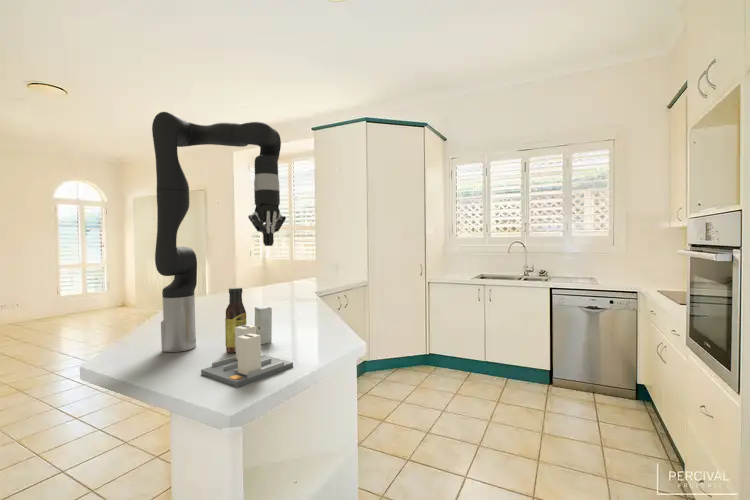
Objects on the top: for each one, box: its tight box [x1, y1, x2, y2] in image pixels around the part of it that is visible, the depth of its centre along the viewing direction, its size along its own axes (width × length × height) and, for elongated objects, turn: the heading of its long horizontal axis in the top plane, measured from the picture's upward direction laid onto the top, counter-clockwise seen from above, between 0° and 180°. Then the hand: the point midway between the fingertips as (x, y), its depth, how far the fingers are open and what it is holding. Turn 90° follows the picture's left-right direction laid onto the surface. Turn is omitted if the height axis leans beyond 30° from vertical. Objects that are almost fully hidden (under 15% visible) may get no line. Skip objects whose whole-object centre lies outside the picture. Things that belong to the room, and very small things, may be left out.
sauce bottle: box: [224, 287, 247, 354], centre depth 117 cm, size 7×6×20 cm
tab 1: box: [235, 324, 256, 360], centre depth 103 cm, size 4×4×9 cm
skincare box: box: [254, 305, 273, 345], centre depth 127 cm, size 6×4×12 cm
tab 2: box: [237, 333, 262, 375], centre depth 93 cm, size 4×4×9 cm
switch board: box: [200, 353, 294, 388], centre depth 98 cm, size 17×16×2 cm
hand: (268, 245), depth 115 cm, fingers closed
